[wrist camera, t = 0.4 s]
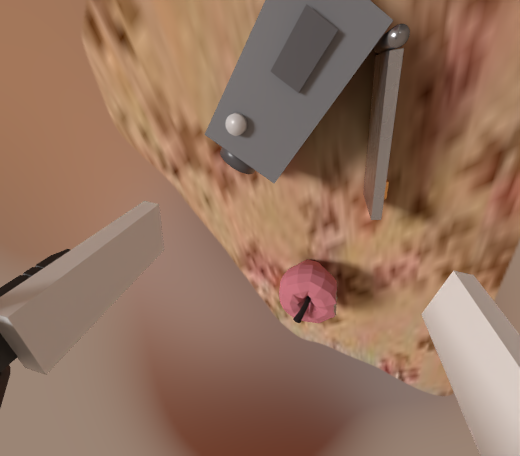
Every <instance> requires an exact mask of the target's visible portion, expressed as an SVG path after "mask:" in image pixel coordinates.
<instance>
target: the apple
mask: <svg viewBox="0 0 520 456" xmlns="http://www.w3.org/2000/svg"><path fill="white" fill-rule="evenodd" d="M336 292H337V281H336V280H335V278H334V277H333V276H332V275H331V274H330V273H329V272H328V271H327V270H326V269H325V268H324V267H323V266H322V265H321V264H320V263H319V262H316V261H312V260H308V259H307V260H305V261H303V262H301V263H299V264H298V265H296V266H293V267H292V268H290V269H288V271H287V272H286V273H285V274H284V275H283V277H282V279H281V282H280V290H279V297H280V303H281V305H282V307H283V309H284V310H285V311H286V312H287V313H288V314H289V315H291V316H292V317H294V319H293V320H294V321H295V322H298V323H300V322H301V321H306V322H314V323H321V322H323V321H325V320H327V319H330V318H332V317H335V315H336V302H337V296H336Z"/></svg>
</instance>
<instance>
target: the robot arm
mask: <svg viewBox="0 0 520 456" xmlns="http://www.w3.org/2000/svg"><path fill="white" fill-rule="evenodd" d="M162 251H164V243H163V235H162V226H161V217H160V208H159V204H156V203H151V202H147V201H143V202H142V203H140V204H139V205H138V206H136V207H135V208H133V209H132V210H130V211H129V212H127V213H126V214H124V215H123V216H121V217H120V218H118V219H117V220H115V221H114V222H112V223H111V224H109V225H108V226H106V227H105V228H103V229H102V230H100V231H99V232H97V233H96V234H94V235H93V236H91V237H90V238H88V239H87V240H85V241H84V242H82V243H81V244H79V245H78V246H76V247H75V248H73V249H72V250H70V249H66V250H64V251H61V252H59V253H56V254H54V255H51V256H49V257H48V258H46V259H45V260H43V261H41V262H40V263H38V264H37V265H36V267H32V268H30V269H29V270H27V271H26V272H24V273H23V275H22V276H21V275H20V276H18V277H16V278H15V279H13V280H12V281H10V282H9V283H7V284H5V285H4V286H2V287H1V288H0V407H1V404H2V400H3V397H4V393H5V390H6V386H7V383H8V379H9V376H10V366H9V364H10V363H11V362H12V361H13V360H15V359H16V358H17V357H18V359H19V360H20V361H21V363H22V364H23V366H24V367H25V368H28V369H31V370H34V371H37V372H40V373H43V374H47V373H48V372H49V371H50V370H51V369H52V368H53V367H54V366H55V365H56V364H57V363H58V362H59V361H60V360H61V359H62V358H63V356H64V355H65V354H66V353H67V352H68V351H69V350H70V349H71V348H72V347H73V346H74V345H75V344H76V343H77V342H78V341H79V340H80V339H81V337H82V336H83V335H84V334H85V333H86V332H87V331H88V330H89V329H90V328H91V327H92V326H93V325H94V324H95V322H97V321H98V319H99V318H100V317H101V316H102V315H103V314H104V313H105V312H106V311H107V310H108V309H109V308H110V307H111V306H112V305H113V304H114V303H115V301H116V300H117V299H118V298H119V297H120V296H121V295H122V294H123V293H124V292H125V291H126V290H127V289H128V288H129V287H130V286H131V285H132V284H133V282H134V281H135V280H136V279H137V278H138V277H139V276H140V275H141V274H142V273H143V272H144V271H145V270H146V269H147V268H148V267H149V266H150V264H151V263H152V262H153V261H154V260H155V259H156V258H157V257H158V256H159V255H160V254H161V253H162ZM422 317H423V319H424V322H425V324H426V326H427V329H428V331H429V334H430V336H431V338H432V341H433V343H434V345H435V348H436V350H437V353H438V355H439V357H440V360H441V362H442V365H443V367H444V369H445V372H446V374H447V377H448V379H449V381H450V384H451V386H452V389H453V391H454V393H455V396H456V398H457V401H458V403H459V405H460V408H461V410H462V412H463V415H464V417H465V420H466V422H467V425H468V427H469V429H470V432H471V434H472V436H473V439H474V441H475V443H476V446H477V448H478V451H479V453H480V456H520V335H519V333H518V332H517V331H516V330H515V328H514V327H513V326H512V324H511V323H510V322H509V320H508V319H507V318H506V317H505V315H504V314H503V313H502V311H501V310H500V309H499V307H498V306H497V305H496V304H495V302H494V301H493V300H492V298H491V297H490V296H489V294H488V293H487V292H486V291H485V289H484V288H483V287H482V285H481V284H480V283H479V281H478V280H477V279H476V278H475V276H474V275H471V274H466V273H462V272H457V271H453V272H452V273H451V275H450V276H449V278H448V279H447V280H446V282H445V283H444V284H443V286H442V287H441V288H440V290H439V291H438V292H437V294H436V295H435V297H434V298H433V299H432V301H431V302H430V303H429V305H428V306H427V307H426V309H425V310H424V311H423V313H422Z"/></svg>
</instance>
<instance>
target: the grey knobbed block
mask: <svg viewBox="0 0 520 456" xmlns="http://www.w3.org/2000/svg"><path fill="white" fill-rule="evenodd" d="M392 22H393V20H392V19H391V18H390V17H389V16H388V15H387V14H385V13H384V12H383V11H382V10H381V9H380V8H378V7H377V6H376V5H375V4H374V3H373V2H371V1H370V0H265V3H264V5H263V7H262V9H261V11H260V14H259V16H258V18H257V20H256V23H255V25H254V27H253V29H252V31H251V34H250V36H249V38H248V40H247V42H246V45H245V47H244V49H243V51H242V53H241V56H240V58H239V60H238V62H237V64H236V67H235V69H234V71H233V73H232V75H231V78H230V80H229V82H228V84H227V87H226V89H225V91H224V93H223V95H222V98H221V100H220V102H219V104H218V106H217V109H216V111H215V113H214V115H213V117H212V120H211V122H210V124H209V126H208V128H207V131H206V133H205V135H206V136H207V137H209V138H210V139H212V140H213V141H215V142H216V143H217V144H219V145H220V146H222V149H221V151H220V154H221V157H222V158H223V160H224V161H225V162H226V163H227V164H228V165H230V166H231V167H232V168H234V169H236V170H238V171H240V172H242V173H246V174H252V173H254V172H255V170H256V171H257V172H259V173H260V174H261V175H263V176H264V177H266V178H267V179H269V180H270V181H271V182H273V183H275V182H276V180H277V179H278V178H279V176H280V175H281V173H282V172H283V171H284V169H285V168H286V167H287V165H288V164H289V163H290V161H291V160H292V158H293V157H294V156H295V154H296V153H297V152H298V150H299V149H300V147H301V146H302V145H303V143H304V142H305V141H306V139H307V138H308V137H309V135H310V134H311V132H312V131H313V130H314V128H315V127H316V126H317V124H318V123H319V121H320V120H321V119H322V117H323V116H324V115H325V113H326V112H327V111H328V109H329V108H330V106H331V105H332V104H333V102H334V101H335V100H336V98H337V97H338V95H339V94H340V93H341V91H342V90H343V89H344V87H345V86H346V84H347V83H348V82H349V80H350V79H351V78H352V76H353V75H354V74H355V72H356V71H357V69H358V68H359V67H360V65H361V64H362V63H363V61H364V60H365V58H366V57H367V56H368V54H369V53H370V52H371V50H372V49H373V48H374V46H375V45H376V43H377V42H378V41H379V39H380V38H381V37H382V35H383V34H384V32H385V31H386V30H387V28H388V27H389V26H390V24H391V23H392Z"/></svg>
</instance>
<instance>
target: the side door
mask: <svg viewBox="0 0 520 456" xmlns="http://www.w3.org/2000/svg"><path fill="white" fill-rule="evenodd" d="M409 34H410V31H409V28H408V26H407V25H405V24H399V25H397V26H395V27H394V28H392V29H391V30H389V31H388V32H387V33H385V34H384V35H382V37H381V38H380V39H379V41H378V42H377V43H376V45H375V46H374V50H375V52H376V53H378V54H379V55H377V56H375V67H374V78H373V90H372V102H371V113H370V125H369V136H368V148H367V160H366V171H365V183H364V197H365V201H366V204H367V208H368V211H369V214H370V218H371V220H381V217H382V210H383V202H384V199H387V192H388V185H389V181H388V179H387V172H388V165H389V157H390V150H391V142H392V135H393V127H394V119H395V112H396V104H397V97H398V89H399V82H400V74H401V67H402V59H403V52H404V48H402V49H396V50H393V49H395V48H398V47H401V46H402V45H404V44H405V43H406V41H407V40H408V38H409Z"/></svg>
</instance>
